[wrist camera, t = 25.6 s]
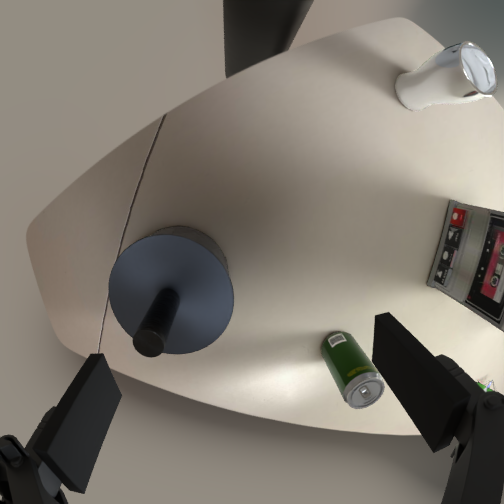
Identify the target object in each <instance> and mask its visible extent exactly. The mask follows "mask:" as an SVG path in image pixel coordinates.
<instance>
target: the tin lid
mask: <svg viewBox="0 0 504 504" xmlns="http://www.w3.org/2000/svg"><path fill="white" fill-rule="evenodd" d="M109 300H110V304H111V307H112V310H113V313H114V315H115V317H116V319H117V321H118V322H119V324H120V325H121V326H122V328H123V329H124V330H125V331H126V332H127V333H128V334H129V335H130V336H131V337H132V338H133V345H134V347H135V349H136V350H137V351H138V352H139V353H140V354H141V355H143V356H146V357H156V356H159V355H160V354H161V353H167V354H186V353H192V352H195V351H198V350H201V349H203V348H205V347H207V346H208V345H210V344H212V343H213V342H214V341H215V340H216V339H218V338H219V336H220V335H221V334H222V333H223V332H224V330H225V329H226V327H227V325H228V323H229V321H230V319H231V316H232V312H233V306H234V294H233V287H232V283H231V279H230V277H229V274H228V272H227V270H226V268H225V267H224V265H223V264H222V262H221V261H220V260H219V258H218V257H217V256H216V255H215V254H214V253H213V252H212V251H211V250H209V249H208V248H207V247H206V246H204V245H202V244H201V243H199V242H197V241H195V240H193V239H191V238H188V237H185V236H181V235H176V234H156V235H151V236H147V237H145V238H142V239H140V240H138V241H136V242H135V243H133V244H131V245H130V246H129V247H128V248H127V249H125V250H124V251H123V252H122V254H121V255H120V256H119V257H118V259H117V260H116V262H115V264H114V266H113V268H112V271H111V274H110V278H109Z"/></svg>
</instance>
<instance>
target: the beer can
mask: <svg viewBox="0 0 504 504" xmlns="http://www.w3.org/2000/svg"><path fill="white" fill-rule="evenodd" d="M321 354H322V356H323V358H324V360H325V362H326V364H327V366H328V368H329V370H330V372H331V374H332V376H333V378H334V380H335V382H336V384H337V386H338V388H339V391H340V393H341V395H342V397H343V399H344V401H345V402H346V403H348V404H349V406H350V407H352V408H355V409H362V408H366V407H368V406H370V405H372V404H374V403H375V402H376V401H377V400H378V399H379V398H380V397H381V396H382V394H383V392H384V388H385V386H384V383H383V379H382V376H381V375H380V374H379V372H378V371H377V369H376V368H375V367H374V365H373V364H372V363H371V361H370V360H369V358H368V357H367V356H366V354H365V353H364V351H363V350H362V349H361V347H360V346H359V345H358V343H357V342H356V340H355V339H354V338H353V337H352V336H351V334H348V333H346V332H335V333H332V334H330V335H329V336H328V337H327V338H326V339H325V340H324V342H323V344H322V348H321Z"/></svg>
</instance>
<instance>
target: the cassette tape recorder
mask: <svg viewBox="0 0 504 504" xmlns="http://www.w3.org/2000/svg"><path fill="white" fill-rule="evenodd" d="M427 285H428V286H430V287H432V288H436V289H438V290H440V291H441V292H443V293H445V294H446V295H448V296H449V297H451V298H453V299H454V300H456V301H457V302H459V303H460V304H462V305H464V306H465V307H467V308H468V309H470V310H471V311H473V312H474V313H476V314H477V315H479V316H480V317H482V318H483V319H485V320H487V321H488V322H489V323H491V324H492V325H494V326H495V327H497V328H498V329H500V330H501V331H503V332H504V212H501V211H496V210H491V209H487V208H482V207H477V206H472V205H467V204H462V203H459V202H457V201H455V200H450V204H449V209H448V213H447V217H446V221H445V225H444V229H443V233H442V237H441V241H440V244H439V248H438V251H437V255H436V258H435V261H434V265H433V268H432V271H431V274H430V277H429V280H428V283H427Z"/></svg>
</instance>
